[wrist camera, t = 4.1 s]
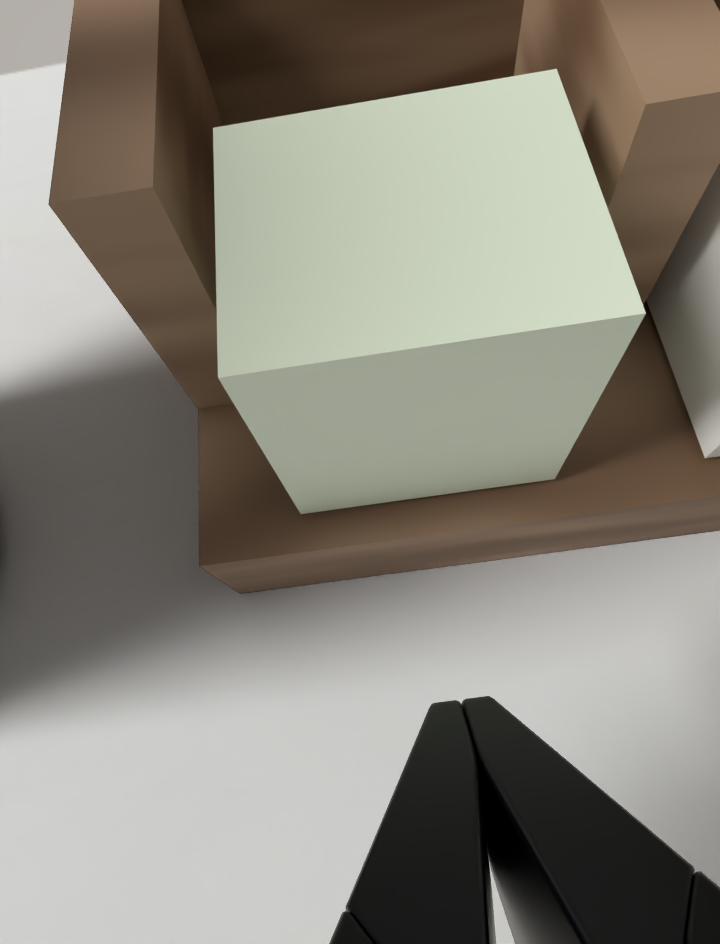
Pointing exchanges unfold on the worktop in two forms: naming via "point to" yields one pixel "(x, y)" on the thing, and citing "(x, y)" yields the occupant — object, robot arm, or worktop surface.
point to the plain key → (694, 316)
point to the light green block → (417, 290)
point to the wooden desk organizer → (354, 81)
